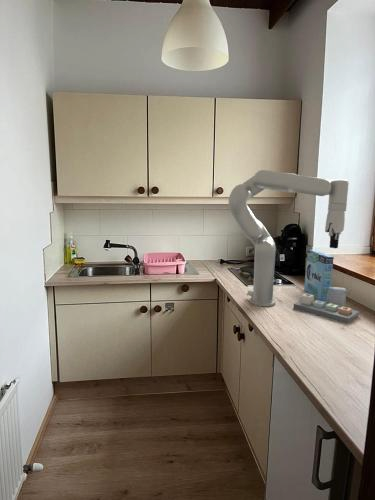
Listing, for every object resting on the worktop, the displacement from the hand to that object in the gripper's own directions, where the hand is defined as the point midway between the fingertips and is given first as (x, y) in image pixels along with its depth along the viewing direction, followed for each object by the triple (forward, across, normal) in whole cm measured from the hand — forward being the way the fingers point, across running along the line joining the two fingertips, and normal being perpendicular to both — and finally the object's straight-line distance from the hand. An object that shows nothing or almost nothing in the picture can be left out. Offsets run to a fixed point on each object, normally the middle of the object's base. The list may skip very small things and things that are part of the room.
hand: (333, 247), depth 157 cm
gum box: (+29, -15, -13) cm, 35 cm away
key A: (+29, +7, +4) cm, 30 cm away
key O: (+27, +7, -7) cm, 29 cm away
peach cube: (+29, +7, +10) cm, 31 cm away
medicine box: (+29, -7, +1) cm, 30 cm away
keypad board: (+29, +7, +2) cm, 30 cm away
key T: (+29, +7, -1) cm, 30 cm away
